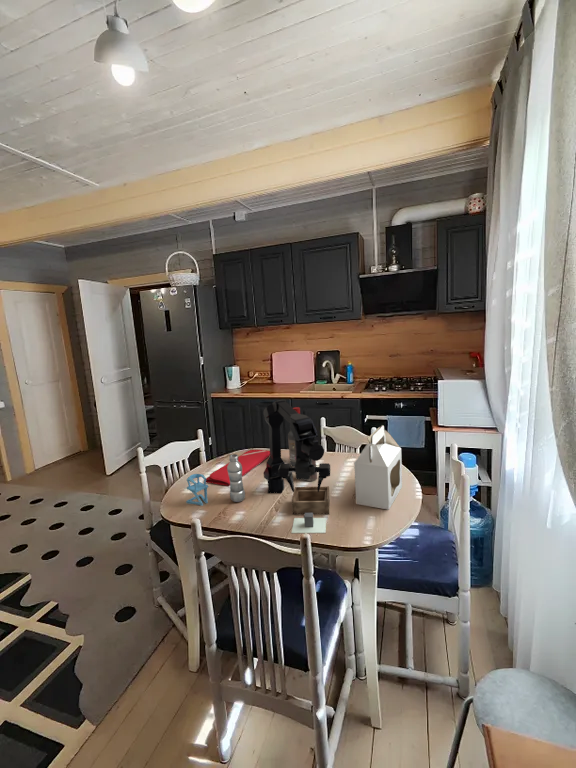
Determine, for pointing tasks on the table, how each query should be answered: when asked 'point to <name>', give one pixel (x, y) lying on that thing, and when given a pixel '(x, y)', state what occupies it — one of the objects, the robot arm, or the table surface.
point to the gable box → (378, 471)
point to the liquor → (292, 443)
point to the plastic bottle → (235, 479)
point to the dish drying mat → (247, 462)
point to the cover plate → (309, 529)
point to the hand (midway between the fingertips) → (305, 491)
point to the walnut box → (311, 500)
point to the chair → (197, 489)
